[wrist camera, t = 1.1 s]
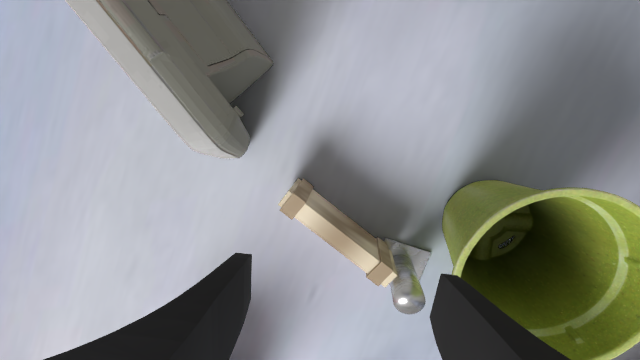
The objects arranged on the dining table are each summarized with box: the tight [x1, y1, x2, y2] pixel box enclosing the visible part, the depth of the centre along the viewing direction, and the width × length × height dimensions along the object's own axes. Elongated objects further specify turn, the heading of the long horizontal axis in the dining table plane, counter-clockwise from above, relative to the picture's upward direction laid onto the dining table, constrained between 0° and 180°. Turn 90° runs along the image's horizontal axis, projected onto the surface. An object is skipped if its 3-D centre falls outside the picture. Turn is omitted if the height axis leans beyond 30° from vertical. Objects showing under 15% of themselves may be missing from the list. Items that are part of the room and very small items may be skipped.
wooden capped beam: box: [278, 178, 397, 287], centre depth 22 cm, size 9×2×4 cm, turn 52°
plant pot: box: [442, 180, 640, 360], centre depth 18 cm, size 9×9×9 cm
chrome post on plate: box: [384, 238, 431, 314], centre depth 22 cm, size 4×4×4 cm
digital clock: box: [65, 0, 273, 159], centre depth 17 cm, size 16×9×11 cm, turn 26°
